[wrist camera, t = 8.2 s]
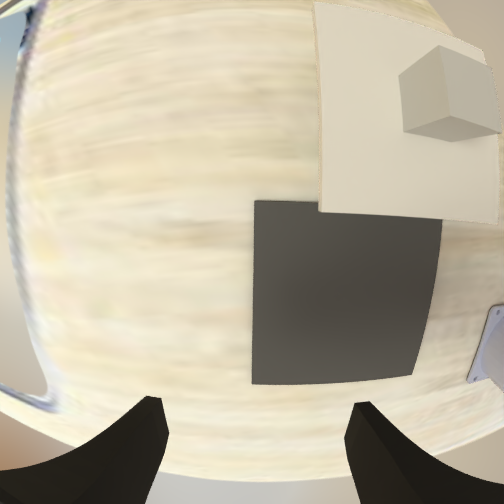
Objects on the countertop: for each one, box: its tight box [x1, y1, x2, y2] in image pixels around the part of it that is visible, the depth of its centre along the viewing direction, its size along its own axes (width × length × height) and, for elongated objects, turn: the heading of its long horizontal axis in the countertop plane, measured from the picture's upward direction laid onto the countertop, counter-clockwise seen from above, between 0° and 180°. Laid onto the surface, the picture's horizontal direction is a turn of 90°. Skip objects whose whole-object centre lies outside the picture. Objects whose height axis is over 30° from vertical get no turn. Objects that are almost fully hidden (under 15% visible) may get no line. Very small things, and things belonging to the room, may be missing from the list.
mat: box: [252, 201, 442, 385], centre depth 19 cm, size 13×13×1 cm
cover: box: [312, 1, 502, 225], centre depth 9 cm, size 11×11×5 cm
